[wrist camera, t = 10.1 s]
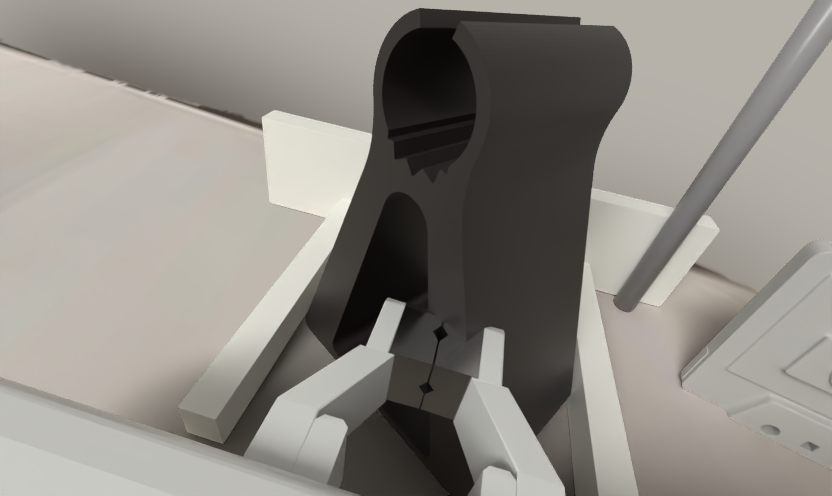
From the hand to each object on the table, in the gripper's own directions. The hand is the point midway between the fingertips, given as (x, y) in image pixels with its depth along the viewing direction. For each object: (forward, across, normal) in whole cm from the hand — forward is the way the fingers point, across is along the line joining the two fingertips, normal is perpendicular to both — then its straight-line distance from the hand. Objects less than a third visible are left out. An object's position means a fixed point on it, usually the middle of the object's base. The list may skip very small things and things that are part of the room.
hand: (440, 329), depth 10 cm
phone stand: (+3, 0, +5) cm, 6 cm away
